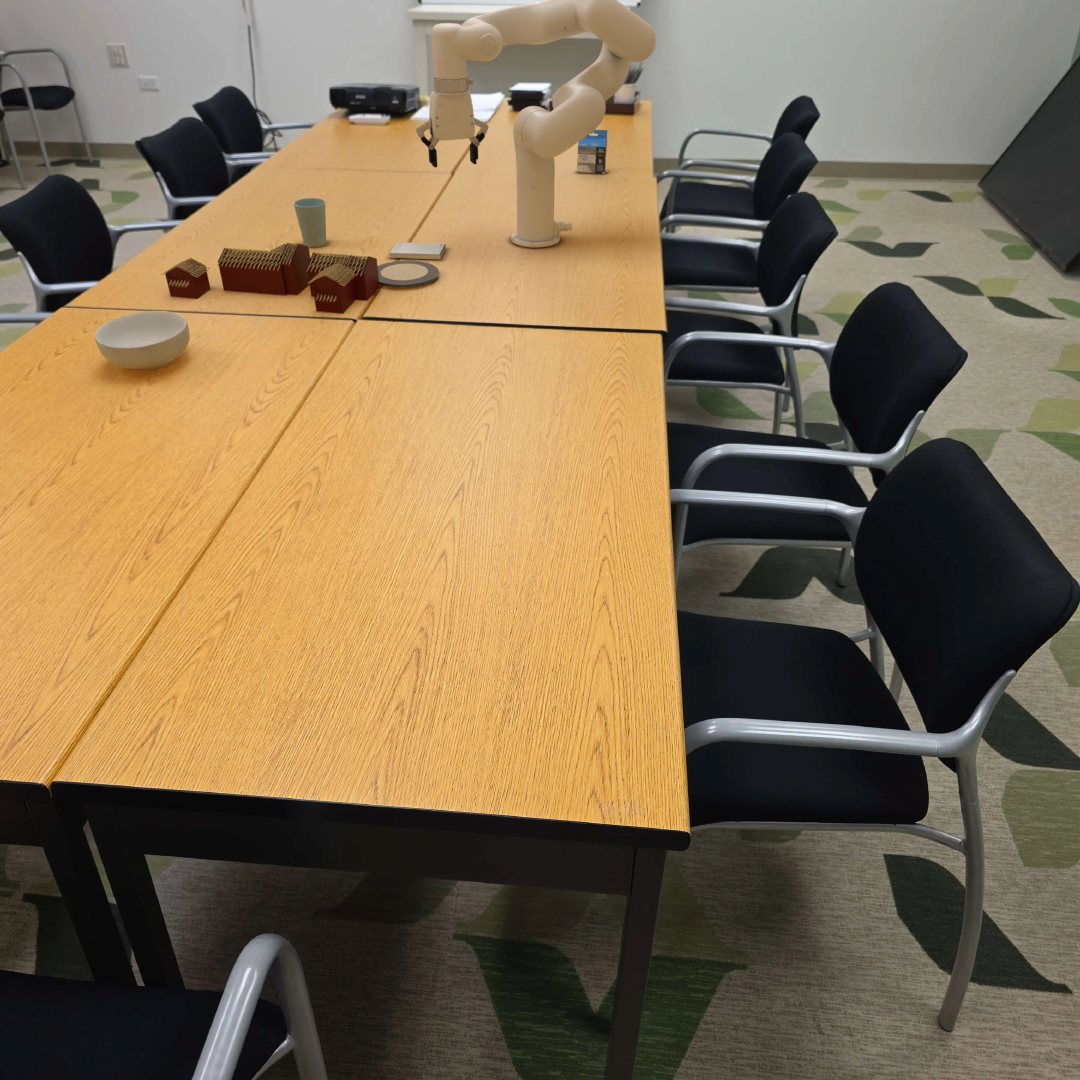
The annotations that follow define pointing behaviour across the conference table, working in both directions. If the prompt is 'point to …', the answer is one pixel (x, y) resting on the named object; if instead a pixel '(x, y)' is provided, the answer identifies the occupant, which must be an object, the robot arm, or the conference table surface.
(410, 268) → the plate
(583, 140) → the ink cartridge box
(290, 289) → the toy houses
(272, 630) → the conference table surface
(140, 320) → the cereal bowl
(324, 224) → the cup
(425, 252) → the hard drive
